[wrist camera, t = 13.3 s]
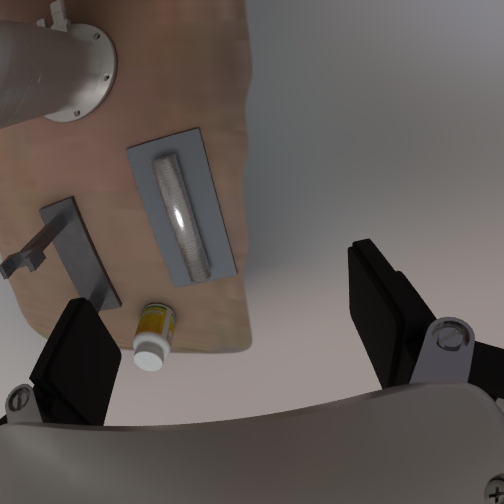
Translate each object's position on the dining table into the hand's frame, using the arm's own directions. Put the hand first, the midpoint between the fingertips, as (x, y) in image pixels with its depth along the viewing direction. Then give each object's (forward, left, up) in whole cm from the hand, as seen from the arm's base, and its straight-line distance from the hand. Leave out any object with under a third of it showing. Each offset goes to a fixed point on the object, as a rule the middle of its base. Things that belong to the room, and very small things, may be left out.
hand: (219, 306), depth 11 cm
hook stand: (+9, -24, -28) cm, 38 cm away
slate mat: (+7, -7, -28) cm, 30 cm away
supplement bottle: (+22, -16, -28) cm, 39 cm away
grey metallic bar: (+7, -7, -26) cm, 28 cm away
